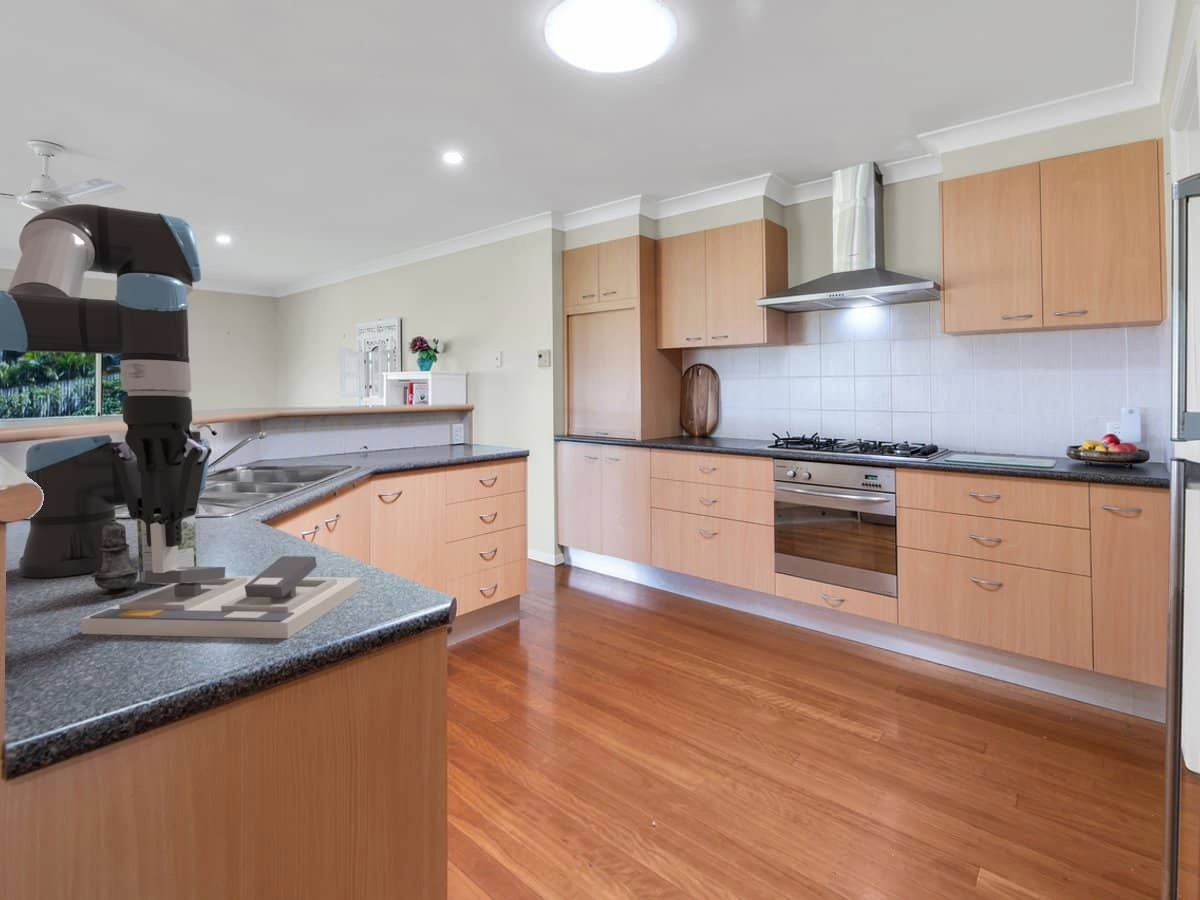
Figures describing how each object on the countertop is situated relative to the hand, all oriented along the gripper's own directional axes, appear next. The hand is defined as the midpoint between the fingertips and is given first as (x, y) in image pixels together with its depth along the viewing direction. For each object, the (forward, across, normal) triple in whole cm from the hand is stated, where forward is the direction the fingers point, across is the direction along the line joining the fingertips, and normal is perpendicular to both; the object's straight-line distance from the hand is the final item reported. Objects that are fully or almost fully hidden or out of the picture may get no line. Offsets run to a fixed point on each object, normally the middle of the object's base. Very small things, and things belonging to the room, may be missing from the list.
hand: (165, 570), depth 83 cm
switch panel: (+7, +7, +4) cm, 10 cm away
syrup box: (+7, -14, +18) cm, 24 cm away
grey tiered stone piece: (+7, -16, +10) cm, 20 cm away
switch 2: (+2, +14, +4) cm, 15 cm away
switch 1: (+2, 0, +4) cm, 4 cm away
